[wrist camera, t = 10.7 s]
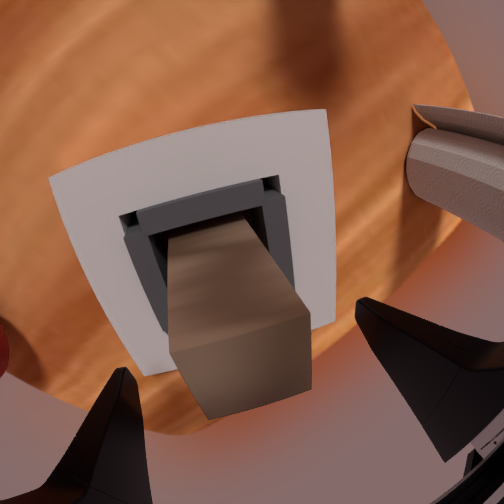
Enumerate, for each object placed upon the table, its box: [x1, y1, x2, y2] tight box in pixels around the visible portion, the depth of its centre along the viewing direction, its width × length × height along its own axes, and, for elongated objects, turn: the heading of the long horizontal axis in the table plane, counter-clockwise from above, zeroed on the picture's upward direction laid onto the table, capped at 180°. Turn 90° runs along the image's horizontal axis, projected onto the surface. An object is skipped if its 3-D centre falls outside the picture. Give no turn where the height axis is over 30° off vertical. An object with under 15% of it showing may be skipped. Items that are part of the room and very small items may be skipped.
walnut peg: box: [167, 211, 312, 420], centre depth 13 cm, size 4×4×10 cm
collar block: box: [49, 109, 336, 376], centre depth 16 cm, size 14×14×3 cm
